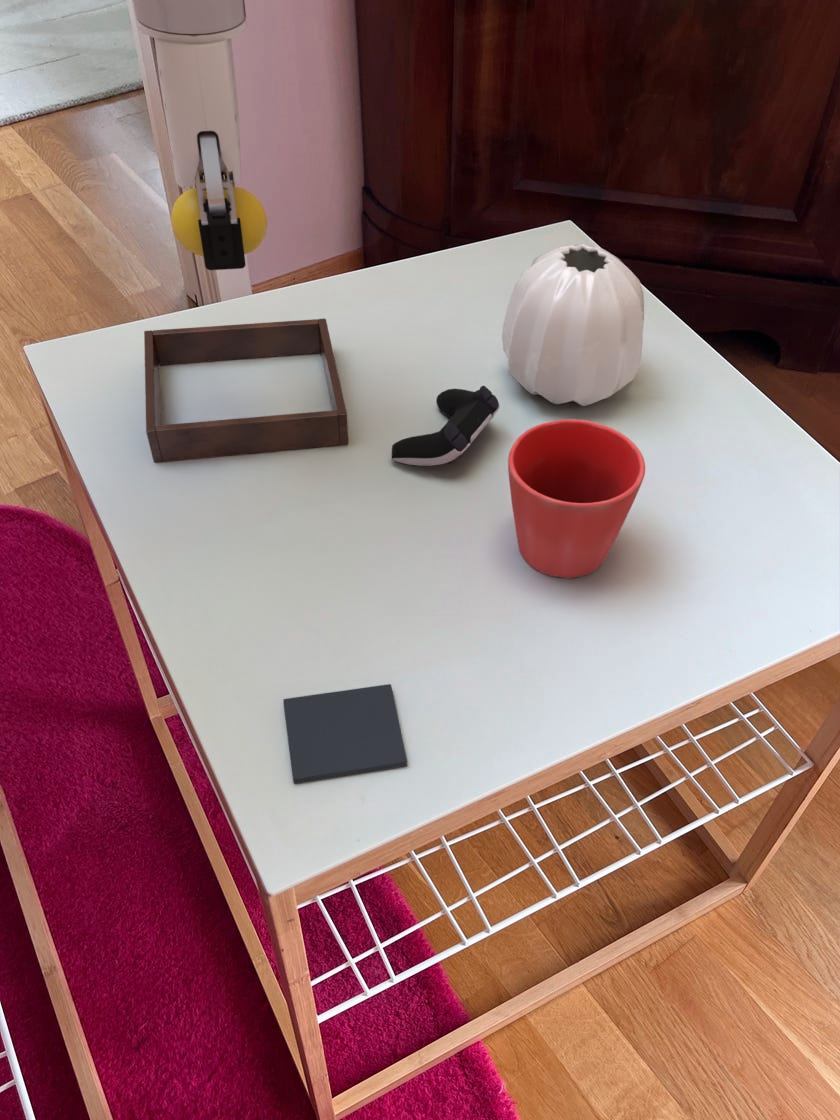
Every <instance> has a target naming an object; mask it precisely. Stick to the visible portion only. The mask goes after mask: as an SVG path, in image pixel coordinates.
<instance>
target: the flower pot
mask: <svg viewBox="0 0 840 1120" xmlns="http://www.w3.org/2000/svg"><path fill="white" fill-rule="evenodd" d="M644 458H645V457H644V456H643V454H642V451H641V450H640V449H639V447H638V446H637V445H636V444H635V442H633V441H632V440H631V439H630V438H629V437H627V436H626V435H625V434H623V433H622V432H620V431H619V430H616V429H614V428H612V427H610V426H607V425H605V424H602V423H598V422H594V421H590V420H583V419H557V420H552V421H547V422H543V423H540V424H537V425H534V426H533V427H531V428H529V429H527V430H526V431H524V432H523V433H522V434H520V435H519V436H518V437H517V438H516V439H515V441H514V442H513V444H512V445H511V447H510V450H509V453H508V457H507V472H508V481H509V482H508V483H509V489H510V491H509V492H510V498H511V499H510V500H511V507H512V513H513V521H514V528H515V532H516V534H515V535H516V540H517V546H518V550H519V553H520V555H521V557H522V558H523V560H524V561H525V562H526V563H527V564H528V565H529V566H530V567H531V568H533V569H534V570H536V571H538V572H539V573H542V574H545V575H547V576H549V577H560V578H563V579H572V578H573V579H574V578H580V577H583V576H587V575H589V574H591V573H593V572H595V571H597V570H598V569H599V568H600V567H601V566H602V565H603V564H604V562H605V560H606V559H607V557H608V554H609V552H610V551H611V549H612V548H613V545H614V543H615V542H616V539H617V537H618V535H619V533H620V531H621V529H622V528H623V525H624V523H625V521H626V519H627V517H628V514H629V513H630V511H631V508H632V506H633V505H634V502H635V499H636V498H637V495H638V493H639V491H640V488H641V486H642V484H643V481H644V478H645V475H646V463H645V459H644Z"/></svg>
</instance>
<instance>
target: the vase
mask: <svg viewBox="0 0 840 1120" xmlns="http://www.w3.org/2000/svg"><path fill="white" fill-rule="evenodd" d="M644 295H645V294H644V290H643V287H642V283H641V281H640V279H639V278H638V277H637V276H636V274H634V272H632V270H630V268H629V267H628V266H626V265H625V263H623V261H622V260H621V259H620V258H619V257H617V256H615V255H614V254H612V253H611V252H609V251H607V250H606V249H604V248H602V247H599V246H590V245H587V244H586V243H579V244H575V245H572V244H567V245H563V246H559V247H557V248H554V249H552V250H549V251H547V252H545V253H542V254H541V255H538V257H535V258H534V259H533V260H532V262H531V264H530V266H529V267H528V268H527V269H526V270H524V271H523V272H522V273H521V274H520V277H519V279H518V280H517V281H516V282H515V285H514V287H513V290H512V292H511V295H510V297H509V301H508V303H507V308H506V311H505V315H504V319H503V324H502V332H501V333H502V334H501V342H502V349H503V352H504V353H505V357H506V358H507V361H508V372H509V374H510V375H512V377H513V378H514V379H515V380H516V381H517V382H518V383H519V384H520V385H521V386H522V387H523V388H524V389H525V390H526V391H527V392H528V393H529V394H531V395H534V396H535V395H536V396H537V395H539V396H541V397H543V398H544V399H546V400H547V401H548V402H550V403H552V404H554V405H561V404H566V403H570V402H573V403H575V404H578V405H580V406H582V407H587V406H589V405H592V404H594V403H595V404H596V403H597V402H600V401H601V400H602V401H603V400H604V399H609V398H610V397H611V396H613V395H614V394H616V393H617V392H619V391H620V390H621V389H623V388H624V387H626V385H628V384H630V383H631V382H632V381H633V380H634V379H635V377H636V376H637V374H638V371H639V369H640V365H641V359H642V353H643V340H644V339H643V338H644V323H645V297H644Z"/></svg>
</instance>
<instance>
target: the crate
mask: <svg viewBox="0 0 840 1120" xmlns="http://www.w3.org/2000/svg"><path fill="white" fill-rule="evenodd" d="M143 338H144V340H143V341H144V342H143V343H144V346H143V347H144V386H145V387H144V389H145V390H144V391H145V393H144V394H145V395H144V397H145V433H146V437H147V441H148V444H149V448H150V453H151V458H152V461H153V463H161V462H173V461H184V460H193V459H206V458H216V457H226V456H227V457H229V456H237V455H249V454H258V453H270V452H279V451H280V452H281V451H292V450H302V449H313V448H323V447H324V448H325V447H334V446H347V445H349V424H348V423H349V421H348V411H347V407H346V403H345V399H344V394H343V390H342V385H341V381H340V376H339V372H338V366H337V363H336V359H335V354H334V349H333V345H332V340H331V335H330V332H329V327H328V323H327V319H326V318H315V319H313V318H312V319H299V320H286V321H285V320H283V321H271V322H255V323H241V324H239V323H238V324H227V325H226V324H225V325H212V326H211V325H210V326H199V327H198V326H197V327H196V326H195V327H183V328H182V327H181V328H169V329H154V330H153V329H152V330H151V329H150V330H144V331H143ZM313 354H314V355H315V354H320V355H321V360H322V366H323V370H324V376H325V380H326V384H327V387H328V388H327V389H328V390H327V391H328V395H329V399H330V404H331V408H332V409H331V410H322V411H321V410H320V411H311V412H310V411H308V412H298V413H286V414H276V415H275V414H274V415H264V416H253V417H239V418H230V419H217V420H215V419H214V420H206V421H204V420H203V421H194V422H182V423H171V424H169V423H168V424H162V405H161V403H162V402H161V372H160V366H166V365H178V364H191V363H192V364H193V363H204V362H205V363H206V362H219V361H232V360H245V359H247V360H248V359H258V358H259V359H260V358H271V357H272V358H273V357H283V356H284V357H285V356H286V357H287V356H298V355H300V356H301V355H313Z"/></svg>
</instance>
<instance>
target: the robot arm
mask: <svg viewBox="0 0 840 1120" xmlns="http://www.w3.org/2000/svg"><path fill="white" fill-rule="evenodd" d="M132 3H133V9H134V14H135V15H134V16H135V21H136V26H137V28H138V30H139V31H141V32H142V33H143V34H144V35H147V36H148V37H151V38H153V39H154V47H155V55H156V64H157V69H158V70H157V72H158V79H159V87H160V91H161V99H162V105H163V110H164V116H165V122H166V130H167V135H168V141H169V147H170V154H171V159H172V166H173V173H174V180H175V183H176V185H177V186H179V188H181V189H186V187H192V186H194V188H196V189H197V196H198V202H199V209H200V216H201V219H200V220H198V223H199V229H200V236H201V242H202V249H203V255H204V256H203V260H204V262H203V263H204V267H205V268H206V269H207V270H208V271H224V270H240V269H244V268H245V267H246V265H247V264H246V257H245V256H246V254H244V247H243V239H242V230H241V222H240V218H237V215H236V207H235V199H234V191H233V187H237V185H239V183H241V180H242V170H241V168H242V167H241V163H242V162H241V135H240V116H239V105H238V92H237V84H236V82H237V81H236V74H235V73H236V72H235V63H234V62H235V61H234V54H233V53H234V52H233V44H232V39H233V38H236V37H238V36H240V35H241V34H243V33H244V31H245V30H246V29H247V26H248V21H247V14H246V2H245V0H132ZM223 189H226V190H227V198H228V200H227V198H224V193H223ZM204 190H207V198H208V199H205V195H204ZM229 213H230V214H229Z"/></svg>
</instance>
